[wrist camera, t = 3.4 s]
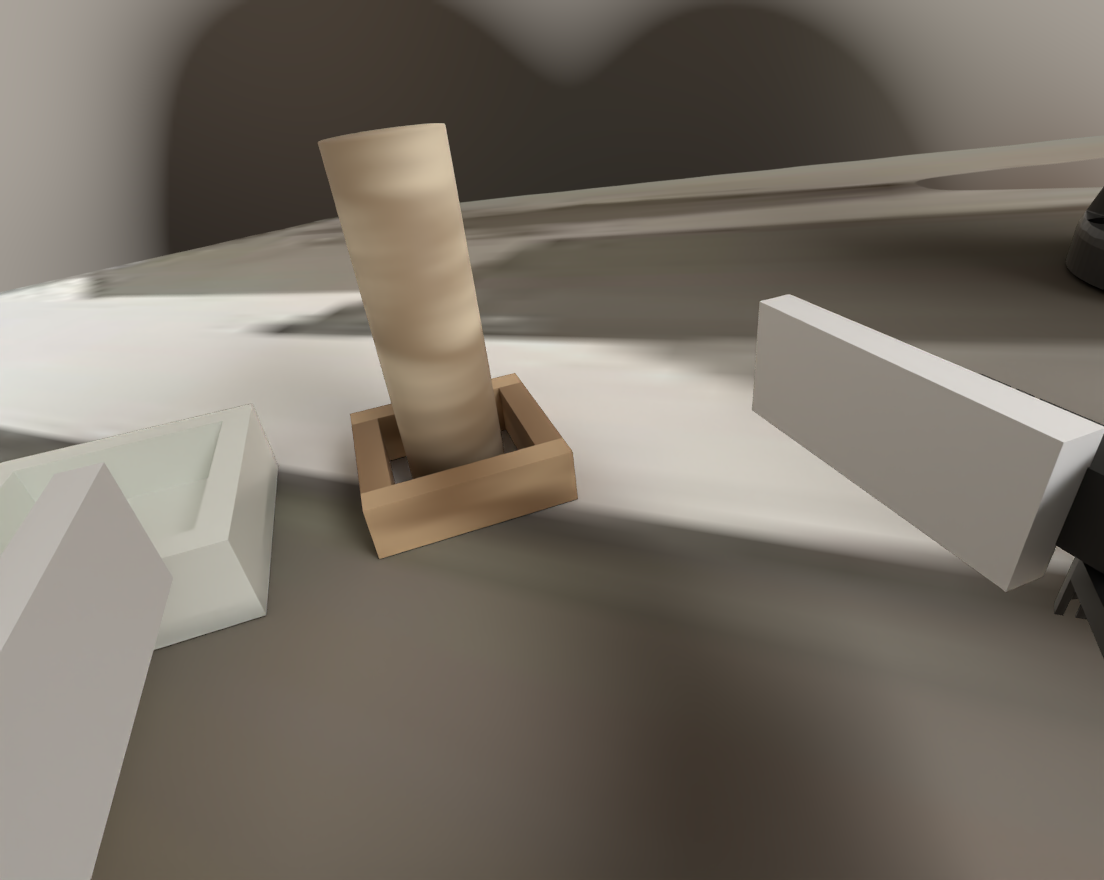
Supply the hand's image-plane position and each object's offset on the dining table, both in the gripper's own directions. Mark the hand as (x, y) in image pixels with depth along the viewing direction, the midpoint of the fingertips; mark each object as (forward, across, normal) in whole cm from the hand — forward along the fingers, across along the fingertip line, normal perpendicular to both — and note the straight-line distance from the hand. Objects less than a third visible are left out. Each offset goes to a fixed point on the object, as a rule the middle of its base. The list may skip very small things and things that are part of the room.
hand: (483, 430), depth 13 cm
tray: (+9, -11, -7) cm, 16 cm away
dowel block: (+9, 0, -7) cm, 12 cm away
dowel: (+9, 0, -7) cm, 12 cm away
